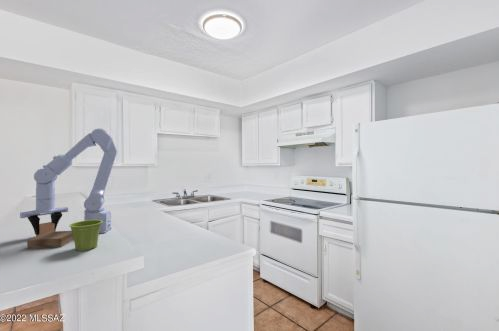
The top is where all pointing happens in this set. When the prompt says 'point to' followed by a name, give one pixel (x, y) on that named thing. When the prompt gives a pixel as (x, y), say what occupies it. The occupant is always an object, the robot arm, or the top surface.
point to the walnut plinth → (50, 239)
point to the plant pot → (86, 234)
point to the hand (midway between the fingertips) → (45, 232)
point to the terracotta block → (46, 227)
